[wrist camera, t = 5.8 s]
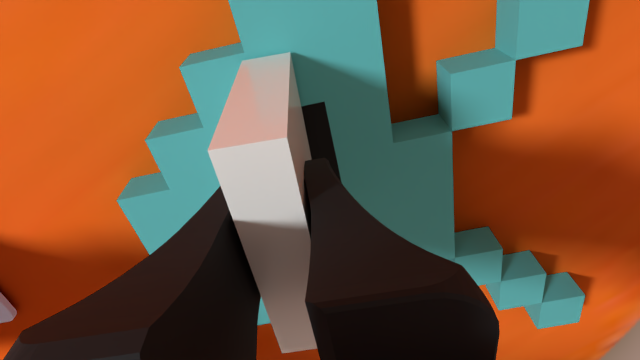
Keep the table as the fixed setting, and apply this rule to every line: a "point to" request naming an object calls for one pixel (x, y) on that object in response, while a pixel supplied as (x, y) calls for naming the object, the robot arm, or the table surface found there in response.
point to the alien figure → (368, 132)
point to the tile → (269, 189)
